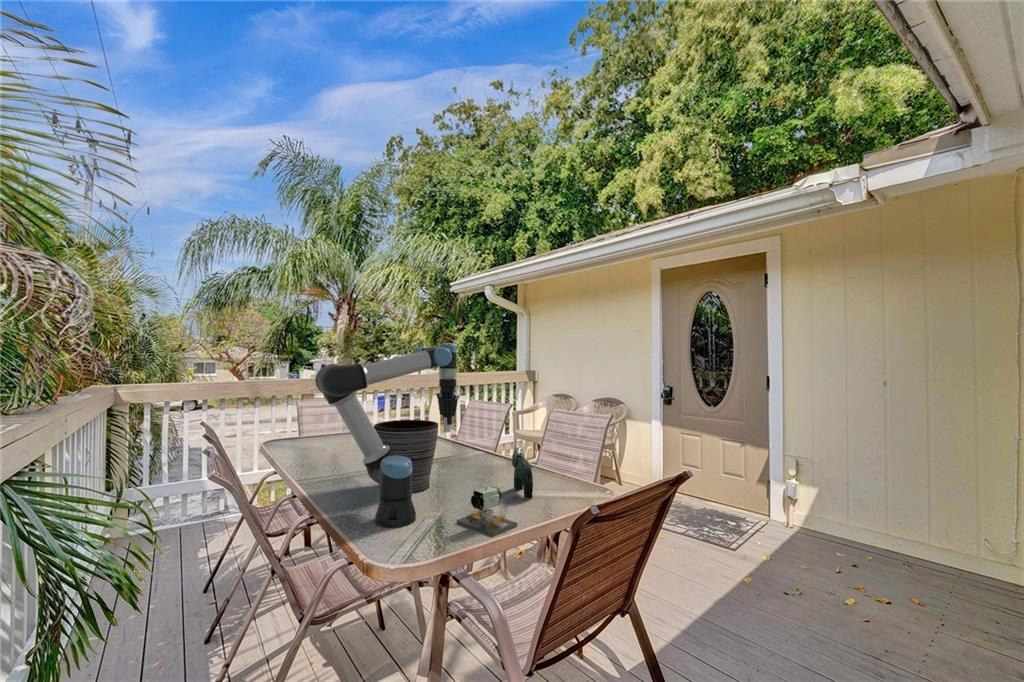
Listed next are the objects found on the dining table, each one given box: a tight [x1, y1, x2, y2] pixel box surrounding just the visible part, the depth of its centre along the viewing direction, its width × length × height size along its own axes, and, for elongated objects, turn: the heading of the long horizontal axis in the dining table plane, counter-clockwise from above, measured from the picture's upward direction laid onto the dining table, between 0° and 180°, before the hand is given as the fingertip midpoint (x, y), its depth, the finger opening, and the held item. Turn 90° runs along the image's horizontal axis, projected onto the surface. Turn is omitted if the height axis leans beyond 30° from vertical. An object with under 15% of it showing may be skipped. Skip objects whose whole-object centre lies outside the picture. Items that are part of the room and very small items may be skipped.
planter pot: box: [373, 419, 439, 494], centre depth 220 cm, size 30×30×30 cm
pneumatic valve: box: [470, 485, 502, 521], centre depth 173 cm, size 6×12×12 cm, turn 135°
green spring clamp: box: [511, 448, 534, 499], centre depth 213 cm, size 20×6×20 cm, turn 16°
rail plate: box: [456, 509, 518, 537], centre depth 173 cm, size 13×19×4 cm
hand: (447, 431), depth 203 cm, fingers closed
